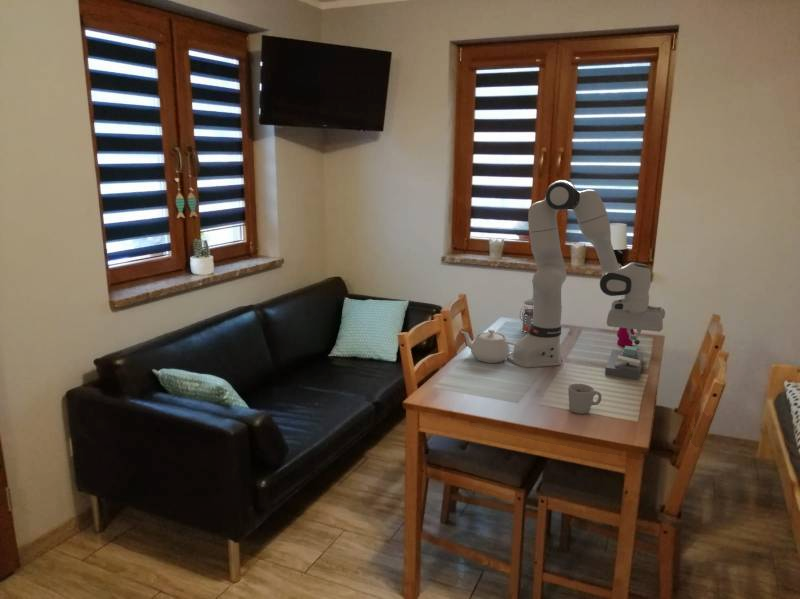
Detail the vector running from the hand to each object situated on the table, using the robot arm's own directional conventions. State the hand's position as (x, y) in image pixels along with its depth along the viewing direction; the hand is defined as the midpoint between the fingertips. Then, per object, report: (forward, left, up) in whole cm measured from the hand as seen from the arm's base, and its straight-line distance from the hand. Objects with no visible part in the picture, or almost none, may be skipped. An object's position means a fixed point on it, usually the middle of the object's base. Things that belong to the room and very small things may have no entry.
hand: (633, 339), depth 231 cm
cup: (-45, -23, -12) cm, 52 cm away
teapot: (-45, +32, -12) cm, 57 cm away
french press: (-4, +58, -12) cm, 59 cm away
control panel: (-1, +2, -12) cm, 12 cm away
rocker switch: (-7, -5, -7) cm, 11 cm away
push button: (0, 0, -6) cm, 7 cm away
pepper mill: (+22, +24, -12) cm, 34 cm away
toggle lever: (+6, +5, -8) cm, 11 cm away
